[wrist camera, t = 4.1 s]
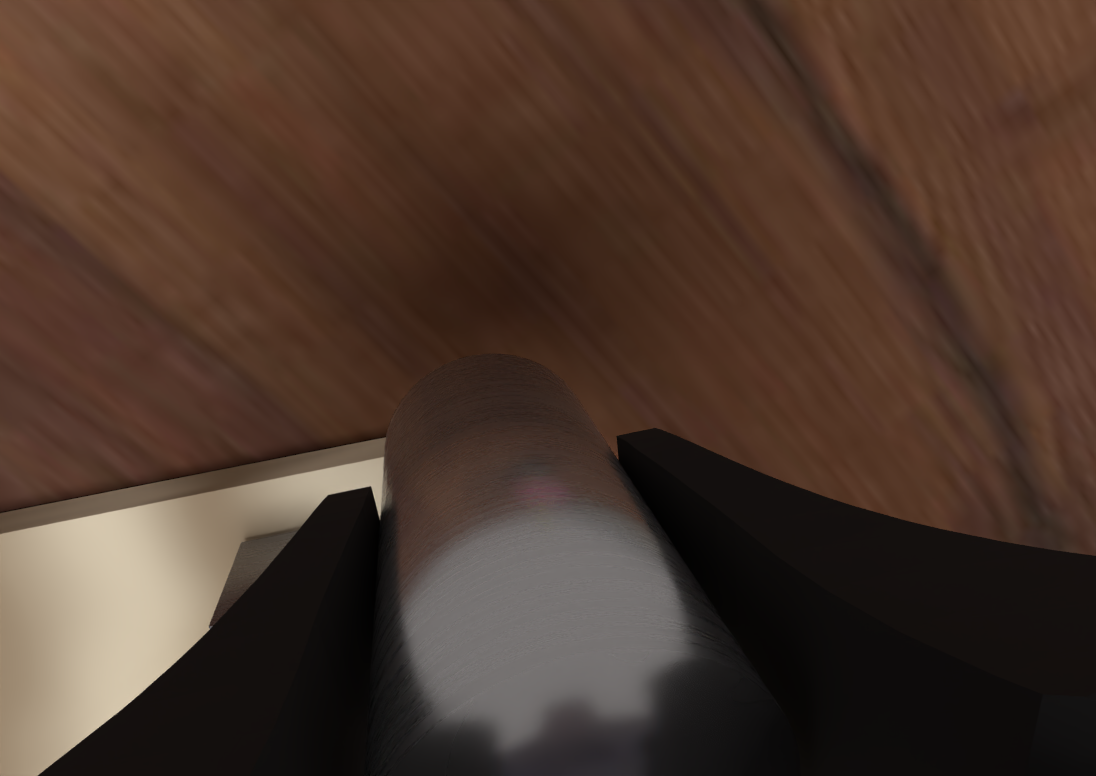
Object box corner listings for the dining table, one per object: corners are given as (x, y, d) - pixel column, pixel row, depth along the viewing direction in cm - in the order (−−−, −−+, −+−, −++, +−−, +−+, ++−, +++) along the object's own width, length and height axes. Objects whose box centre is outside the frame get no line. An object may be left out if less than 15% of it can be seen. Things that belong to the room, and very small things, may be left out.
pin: (577, 336, 11) (804, 599, 5) (598, 515, 13) (798, 907, 6) (362, 375, 11) (302, 727, 4) (408, 558, 12) (413, 1032, 6)
